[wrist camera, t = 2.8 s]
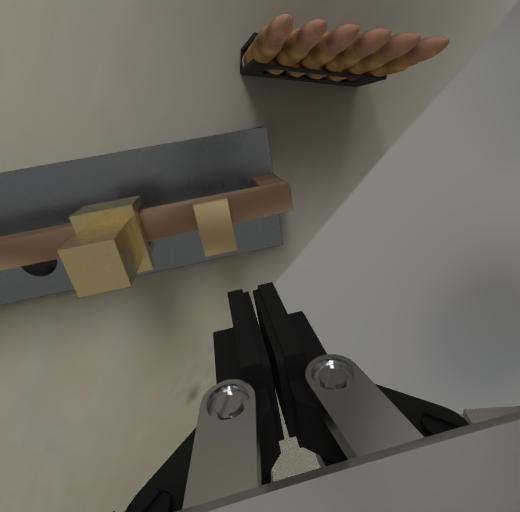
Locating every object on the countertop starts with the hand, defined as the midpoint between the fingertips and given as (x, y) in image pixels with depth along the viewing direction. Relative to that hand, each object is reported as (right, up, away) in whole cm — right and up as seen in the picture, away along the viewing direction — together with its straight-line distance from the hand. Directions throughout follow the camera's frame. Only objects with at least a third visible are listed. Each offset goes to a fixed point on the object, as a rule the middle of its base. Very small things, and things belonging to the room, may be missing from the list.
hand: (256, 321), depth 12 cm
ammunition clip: (+4, +19, +16) cm, 24 cm away
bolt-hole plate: (-13, +6, +17) cm, 22 cm away
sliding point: (-11, +6, +16) cm, 20 cm away
